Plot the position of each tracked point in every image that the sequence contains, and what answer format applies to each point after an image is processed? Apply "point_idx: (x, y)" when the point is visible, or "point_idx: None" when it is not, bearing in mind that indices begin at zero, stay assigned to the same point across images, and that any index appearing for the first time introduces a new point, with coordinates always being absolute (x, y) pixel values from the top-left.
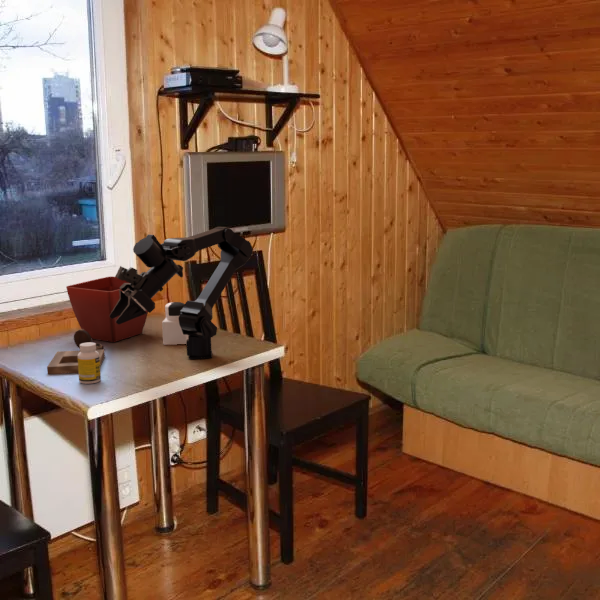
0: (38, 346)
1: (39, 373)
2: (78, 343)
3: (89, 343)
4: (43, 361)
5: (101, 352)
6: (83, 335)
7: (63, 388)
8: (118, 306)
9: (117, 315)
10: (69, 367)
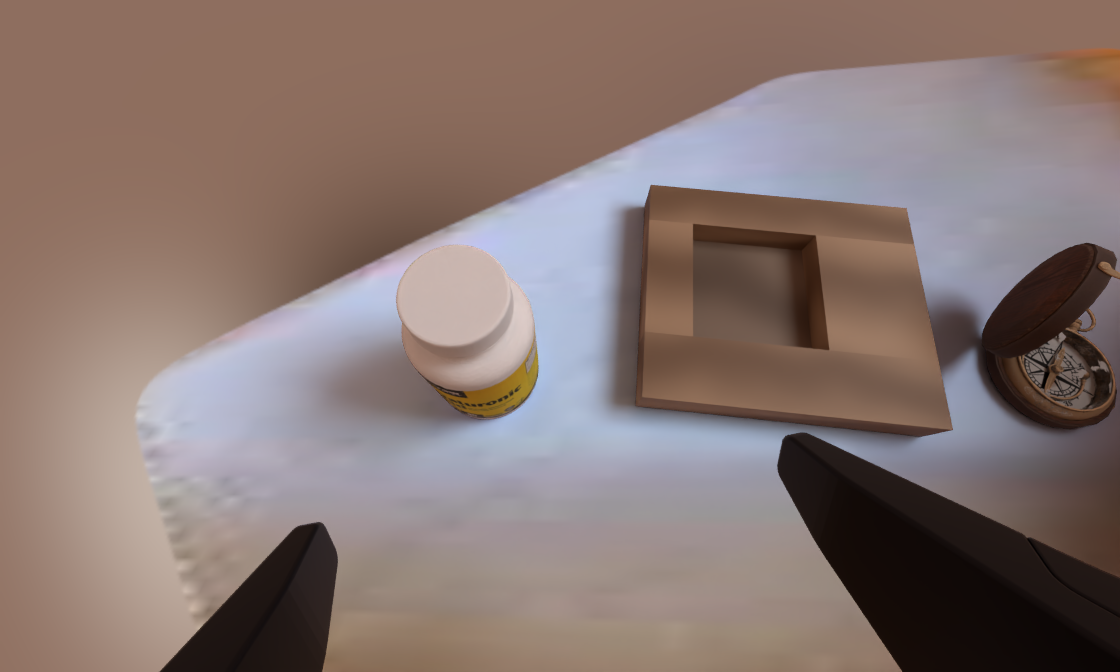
0: (1078, 149)
1: (664, 179)
2: (1020, 288)
3: (472, 303)
4: (839, 181)
5: (882, 414)
6: (1051, 292)
7: None
8: (965, 593)
9: (824, 547)
10: (645, 272)
